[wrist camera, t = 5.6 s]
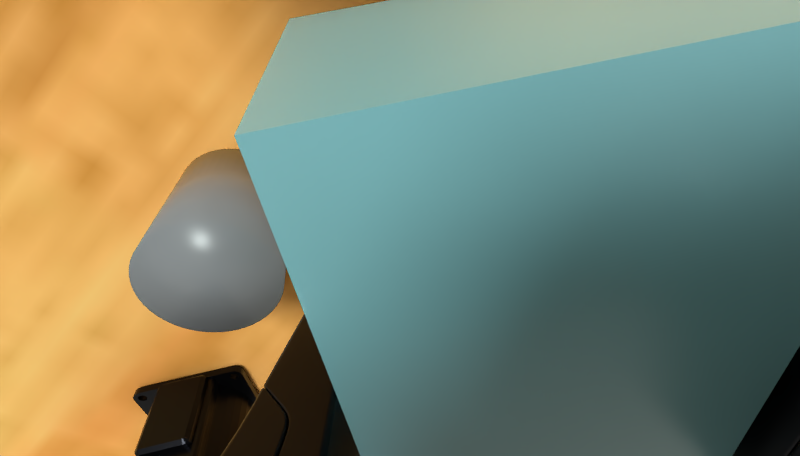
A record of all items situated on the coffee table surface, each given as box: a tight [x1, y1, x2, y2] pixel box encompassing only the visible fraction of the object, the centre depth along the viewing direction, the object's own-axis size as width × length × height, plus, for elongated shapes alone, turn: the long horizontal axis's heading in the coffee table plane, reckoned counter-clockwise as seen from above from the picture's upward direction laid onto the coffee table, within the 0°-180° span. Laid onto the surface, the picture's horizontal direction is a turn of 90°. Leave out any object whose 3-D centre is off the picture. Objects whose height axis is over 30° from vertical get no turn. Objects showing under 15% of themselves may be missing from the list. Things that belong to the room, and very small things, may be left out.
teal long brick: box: [234, 0, 800, 456], centre depth 8 cm, size 10×5×6 cm, turn 8°
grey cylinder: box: [129, 149, 286, 332], centre depth 17 cm, size 5×5×6 cm
